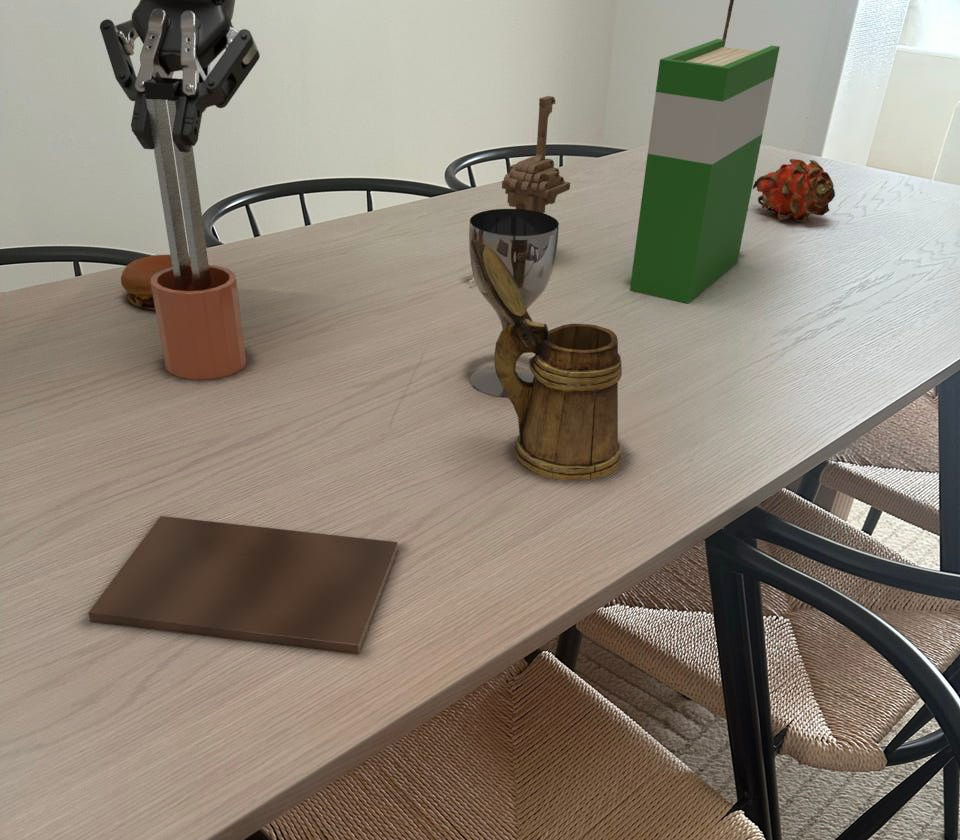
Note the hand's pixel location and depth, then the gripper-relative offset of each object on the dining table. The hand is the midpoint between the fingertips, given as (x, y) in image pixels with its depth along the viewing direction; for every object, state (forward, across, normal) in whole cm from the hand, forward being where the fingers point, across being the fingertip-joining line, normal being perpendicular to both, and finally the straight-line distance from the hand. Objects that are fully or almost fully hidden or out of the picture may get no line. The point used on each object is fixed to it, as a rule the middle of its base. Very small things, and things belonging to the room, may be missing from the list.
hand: (162, 144), depth 82 cm
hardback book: (-14, +47, +44) cm, 66 cm away
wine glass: (+10, +29, +19) cm, 36 cm away
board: (+37, +16, -8) cm, 41 cm away
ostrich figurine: (-12, +25, +42) cm, 50 cm away
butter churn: (-47, +49, +76) cm, 102 cm away
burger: (+2, -10, +28) cm, 29 cm away
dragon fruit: (-34, +62, +63) cm, 95 cm away
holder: (+13, 0, +16) cm, 21 cm away
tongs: (+7, 0, +10) cm, 13 cm away
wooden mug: (+21, +34, +8) cm, 41 cm away
